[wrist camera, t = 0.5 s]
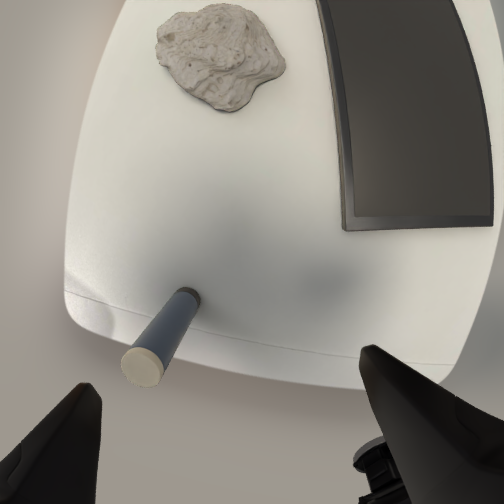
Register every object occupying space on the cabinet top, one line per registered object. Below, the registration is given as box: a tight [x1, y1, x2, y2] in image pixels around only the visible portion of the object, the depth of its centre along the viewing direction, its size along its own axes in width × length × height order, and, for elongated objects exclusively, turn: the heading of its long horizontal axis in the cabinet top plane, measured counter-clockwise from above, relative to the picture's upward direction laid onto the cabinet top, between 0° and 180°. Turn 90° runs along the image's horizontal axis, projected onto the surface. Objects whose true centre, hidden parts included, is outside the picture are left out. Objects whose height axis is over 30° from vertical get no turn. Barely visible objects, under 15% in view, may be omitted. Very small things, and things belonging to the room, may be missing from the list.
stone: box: [156, 3, 286, 112], centre depth 17 cm, size 10×5×10 cm
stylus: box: [121, 287, 200, 388], centre depth 18 cm, size 2×2×10 cm
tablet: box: [316, 0, 494, 231], centre depth 17 cm, size 32×15×1 cm, turn 4°
